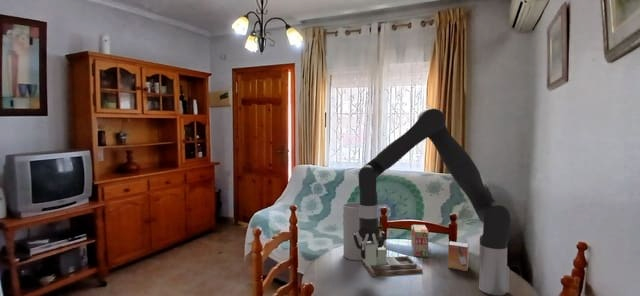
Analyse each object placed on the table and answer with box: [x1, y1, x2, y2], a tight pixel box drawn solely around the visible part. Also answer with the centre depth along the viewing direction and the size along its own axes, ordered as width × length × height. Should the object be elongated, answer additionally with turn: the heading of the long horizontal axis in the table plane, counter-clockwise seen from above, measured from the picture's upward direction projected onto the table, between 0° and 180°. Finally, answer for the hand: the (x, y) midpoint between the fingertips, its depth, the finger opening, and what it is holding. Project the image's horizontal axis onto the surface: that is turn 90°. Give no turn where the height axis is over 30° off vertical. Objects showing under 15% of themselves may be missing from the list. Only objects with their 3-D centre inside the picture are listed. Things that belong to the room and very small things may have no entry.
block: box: [376, 246, 388, 266], centre depth 147 cm, size 4×6×8 cm, turn 8°
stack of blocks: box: [410, 224, 430, 258], centre depth 171 cm, size 21×6×12 cm, turn 170°
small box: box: [447, 240, 470, 272], centre depth 148 cm, size 8×6×10 cm
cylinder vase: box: [342, 201, 363, 262], centre depth 161 cm, size 12×12×25 cm
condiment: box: [376, 223, 387, 248], centre depth 174 cm, size 7×8×12 cm
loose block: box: [362, 241, 377, 267], centre depth 134 cm, size 4×6×8 cm, turn 8°
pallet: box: [362, 255, 423, 277], centre depth 148 cm, size 22×14×3 cm, turn 98°
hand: (369, 257), depth 134 cm, fingers closed on loose block, 4 cm apart
